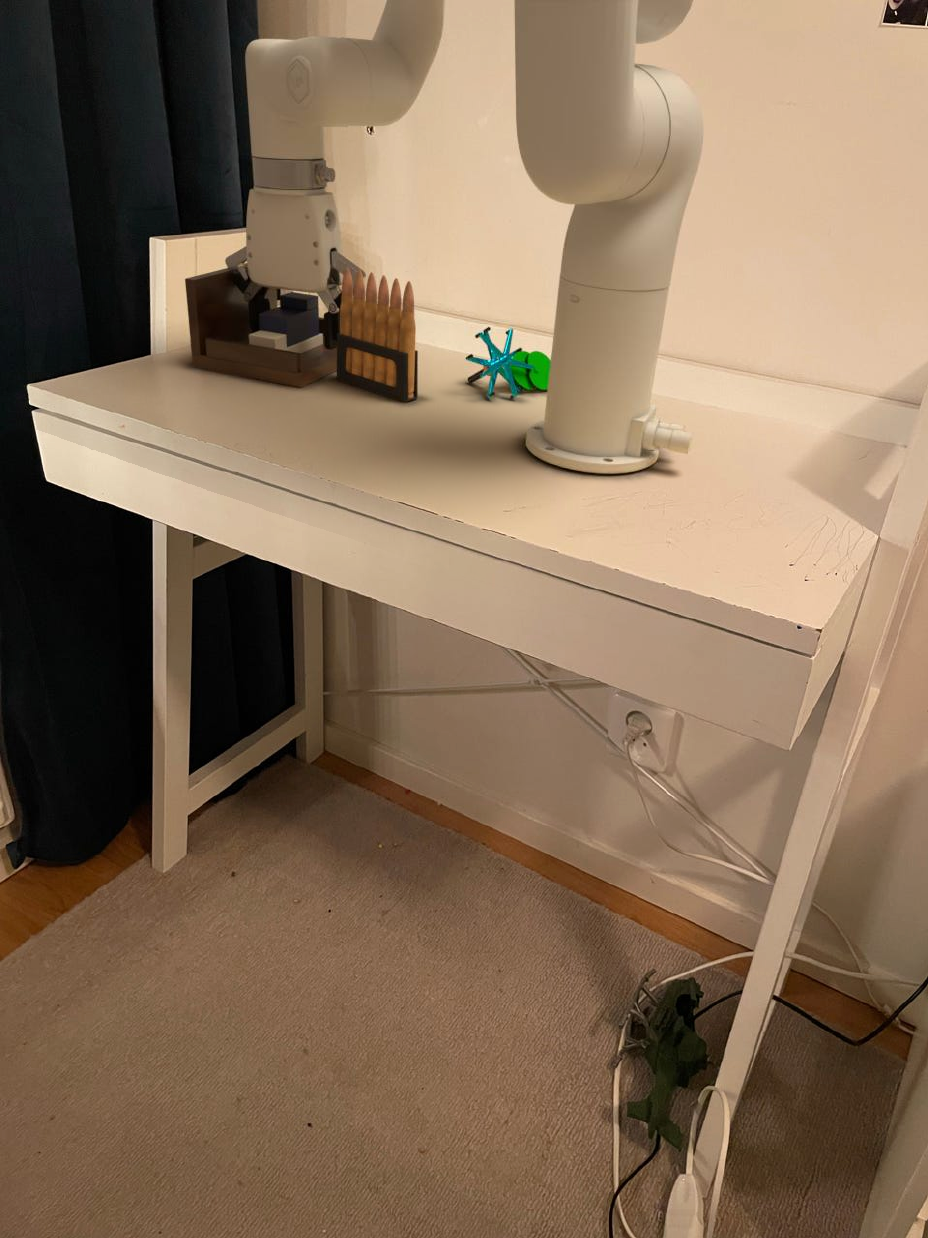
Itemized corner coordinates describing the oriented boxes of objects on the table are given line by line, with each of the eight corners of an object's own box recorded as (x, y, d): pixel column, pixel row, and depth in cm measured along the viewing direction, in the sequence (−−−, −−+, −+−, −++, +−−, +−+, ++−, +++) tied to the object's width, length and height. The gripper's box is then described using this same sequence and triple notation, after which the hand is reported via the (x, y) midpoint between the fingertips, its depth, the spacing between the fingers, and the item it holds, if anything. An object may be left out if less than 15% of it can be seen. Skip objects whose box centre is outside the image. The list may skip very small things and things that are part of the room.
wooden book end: (270, 337, 117) (266, 257, 112) (369, 354, 113) (370, 272, 108) (192, 366, 104) (184, 278, 99) (301, 387, 100) (298, 296, 95)
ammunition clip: (418, 399, 99) (422, 281, 93) (406, 402, 98) (409, 283, 92) (347, 376, 105) (347, 264, 99) (335, 379, 103) (334, 265, 97)
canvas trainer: (293, 338, 111) (292, 290, 109) (323, 344, 110) (322, 295, 107) (246, 357, 103) (243, 306, 100) (277, 363, 102) (275, 311, 99)
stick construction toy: (482, 385, 97) (477, 314, 98) (443, 407, 102) (438, 339, 103) (566, 404, 104) (560, 338, 105) (525, 423, 109) (520, 360, 110)
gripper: (378, 180, 98) (380, 344, 107) (240, 169, 104) (252, 326, 112) (344, 185, 92) (348, 358, 101) (199, 173, 98) (214, 338, 106)
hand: (297, 341), depth 107 cm, fingers open, 9 cm apart
